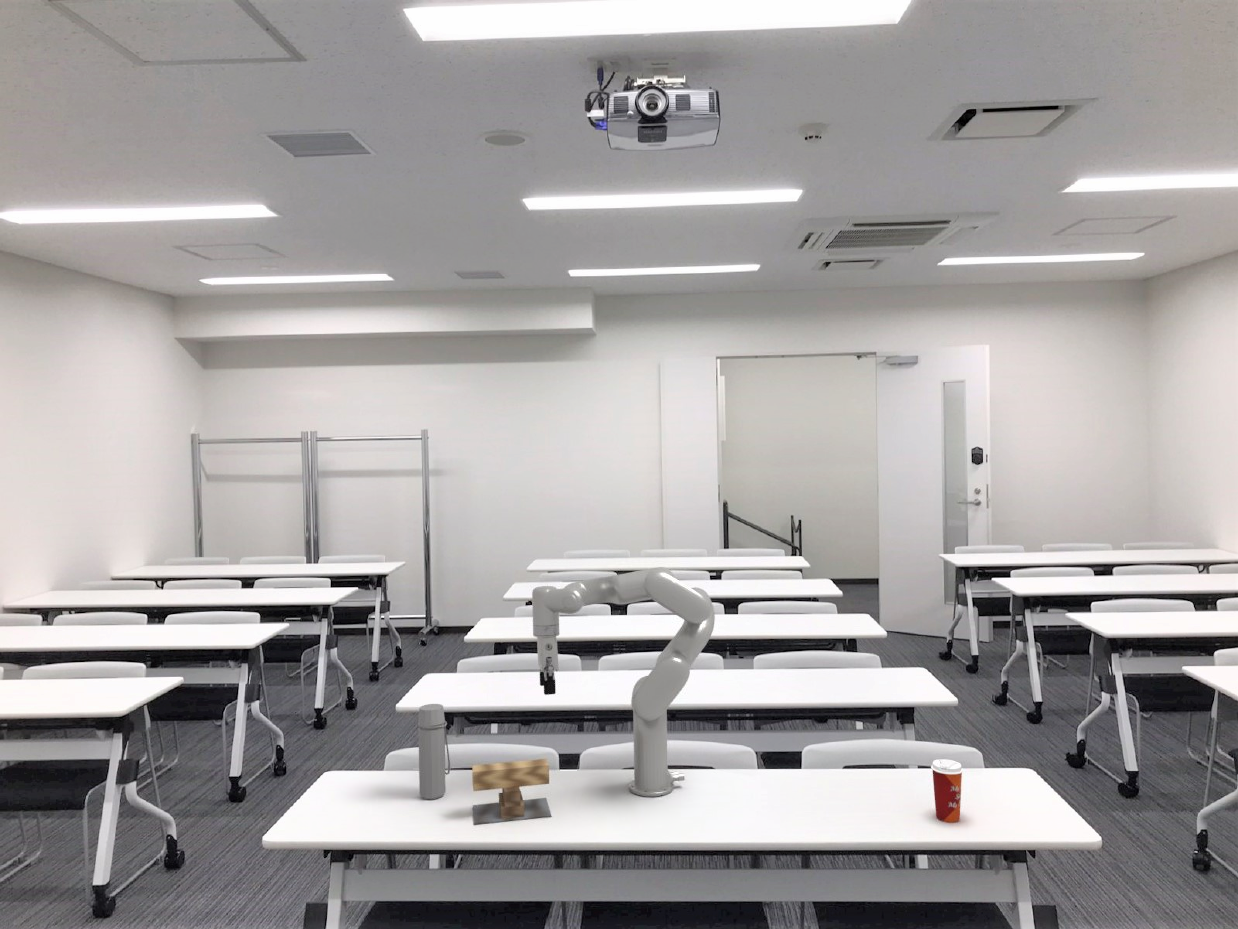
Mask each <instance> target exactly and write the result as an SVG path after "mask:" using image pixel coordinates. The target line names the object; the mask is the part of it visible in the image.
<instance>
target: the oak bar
mask: <svg viewBox="0 0 1238 929" xmlns="http://www.w3.org/2000/svg"><path fill="white" fill-rule="evenodd" d="M541 785H550V764H549V761H548V758H540V759H530V760H520V761H517V760H516V761H507V762H497V763H487V764H486V763H485V764H476V765H475V764H473V765H472V791H473V792H479V791H489V790H491V791H492V790H500V789H502V788H512V787H519V788H521V787H532V786H541Z"/></svg>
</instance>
